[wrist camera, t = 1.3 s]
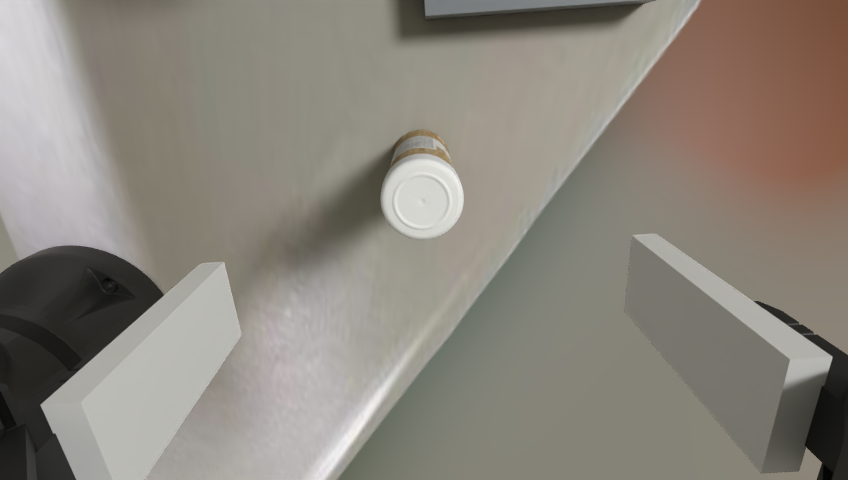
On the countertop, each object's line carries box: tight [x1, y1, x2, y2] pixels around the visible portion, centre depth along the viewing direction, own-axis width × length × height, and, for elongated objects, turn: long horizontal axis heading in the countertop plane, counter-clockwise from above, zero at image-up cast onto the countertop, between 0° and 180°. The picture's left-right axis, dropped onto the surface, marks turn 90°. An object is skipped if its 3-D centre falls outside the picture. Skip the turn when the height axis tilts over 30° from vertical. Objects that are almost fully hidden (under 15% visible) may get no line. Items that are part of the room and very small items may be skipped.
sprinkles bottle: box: [380, 130, 464, 240], centre depth 31 cm, size 5×5×14 cm
